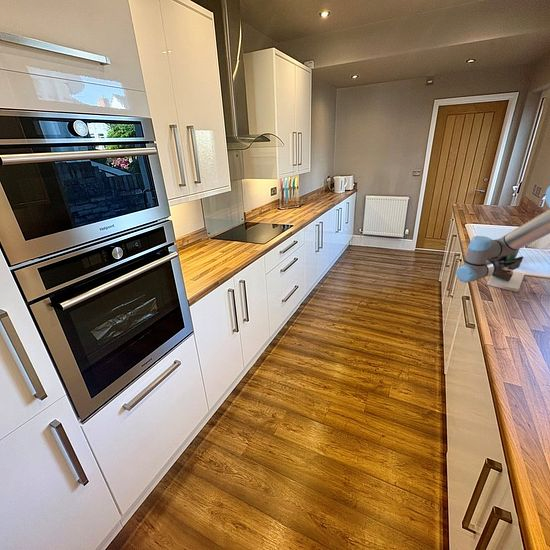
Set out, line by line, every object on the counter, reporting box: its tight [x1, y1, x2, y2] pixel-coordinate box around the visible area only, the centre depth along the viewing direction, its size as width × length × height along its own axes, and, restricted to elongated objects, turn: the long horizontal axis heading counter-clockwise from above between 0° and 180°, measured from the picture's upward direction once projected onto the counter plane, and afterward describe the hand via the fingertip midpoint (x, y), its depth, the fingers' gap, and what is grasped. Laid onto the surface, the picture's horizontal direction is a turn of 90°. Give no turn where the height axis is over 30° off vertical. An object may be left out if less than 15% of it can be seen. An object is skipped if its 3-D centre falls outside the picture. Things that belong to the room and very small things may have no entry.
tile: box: [486, 270, 526, 293], centre depth 141 cm, size 12×22×2 cm, turn 137°
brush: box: [492, 250, 520, 281], centre depth 137 cm, size 7×5×14 cm
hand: (516, 257), depth 138 cm, fingers closed on brush, 3 cm apart
